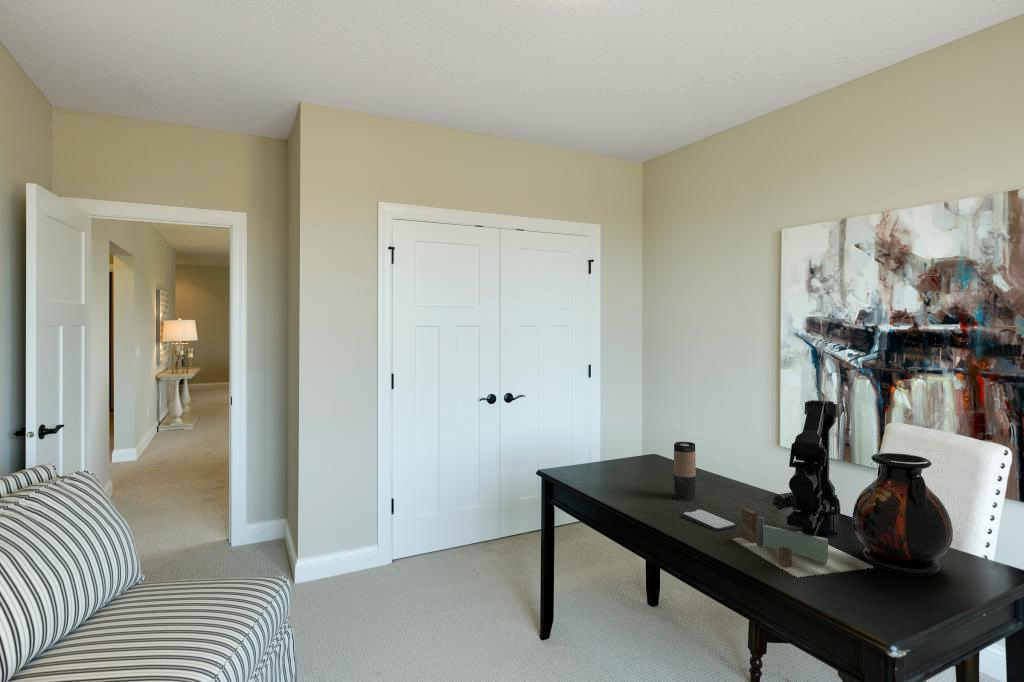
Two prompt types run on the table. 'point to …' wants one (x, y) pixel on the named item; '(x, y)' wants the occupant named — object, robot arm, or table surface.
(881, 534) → the amphora vase
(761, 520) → the gate
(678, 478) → the travel mug
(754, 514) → the gate base
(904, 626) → the table surface
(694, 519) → the phone case
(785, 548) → the stop post
